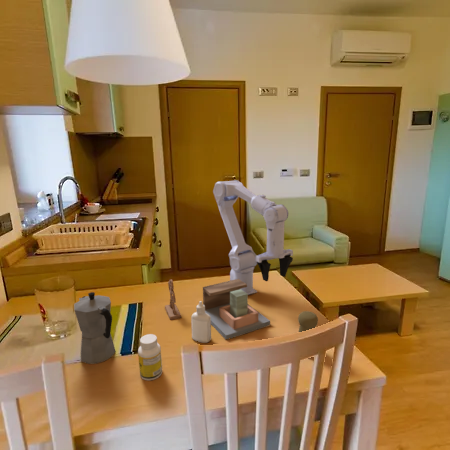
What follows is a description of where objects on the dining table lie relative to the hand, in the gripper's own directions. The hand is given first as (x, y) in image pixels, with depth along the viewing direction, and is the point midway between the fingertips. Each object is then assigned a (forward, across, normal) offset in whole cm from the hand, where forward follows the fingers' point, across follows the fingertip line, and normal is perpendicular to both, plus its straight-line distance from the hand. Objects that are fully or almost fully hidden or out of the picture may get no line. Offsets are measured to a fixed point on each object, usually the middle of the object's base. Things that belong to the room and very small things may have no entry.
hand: (274, 278), depth 108 cm
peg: (+9, -17, -4) cm, 20 cm away
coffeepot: (+11, -58, +1) cm, 59 cm away
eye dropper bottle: (+11, -31, -6) cm, 33 cm away
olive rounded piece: (+11, -8, -25) cm, 28 cm away
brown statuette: (+11, -33, +13) cm, 37 cm away
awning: (+9, -17, +5) cm, 20 cm away
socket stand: (+10, -17, -1) cm, 20 cm away
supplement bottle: (+11, -48, -13) cm, 51 cm away
